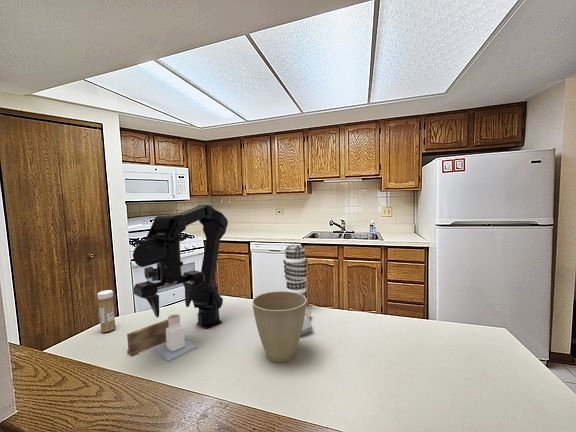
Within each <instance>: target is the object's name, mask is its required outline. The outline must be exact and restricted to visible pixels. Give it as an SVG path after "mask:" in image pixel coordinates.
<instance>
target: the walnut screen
mask: <svg viewBox="0 0 576 432" xmlns="http://www.w3.org/2000/svg"><path fill="white" fill-rule="evenodd" d="M167 327H169V324H168V318H167V319H165V320H162V321H158V322H155V323H153V324H151V325H148V326H145V327H141V328H140V329H137V330H134V331H131V332H128V333H127V334H126V338H127V350H126V353H127V354H128V355H129V356H131V357H134V356H137V355H139V352H142V351H144V350H148V349H150V348H152V347H155V346H157V345H159V344H161V343H163V342H166V328H167Z"/></svg>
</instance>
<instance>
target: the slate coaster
mask: <svg viewBox="0 0 576 432" xmlns="http://www.w3.org/2000/svg"><path fill="white" fill-rule="evenodd" d="M184 342H185V346H184V347H183V348H181V349H179V350H176V351H174V352H172V351H171V350H169V349H168V348H167V343H165V344H164V345H161V346H159V347H156V348H154V349H153V350H152V351H153V353H155V355H157V356H159V357H160V358H162V359H163V360H165V361H166V362H168V363H170V362H172V361H174V360H176V359H178V358H180V357H182V356H184V355H186V354H188V353H191V352H192V351H194V350H197V349H198V346H197V345H196V344H195V343H193V342H191V341H189V340H187V339H185V338H184Z"/></svg>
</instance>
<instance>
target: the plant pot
mask: <svg viewBox="0 0 576 432" xmlns="http://www.w3.org/2000/svg"><path fill="white" fill-rule="evenodd" d="M306 299H307V298H305V297H304V296H303V295H301V294H299V293H295V292H287V291H286V290H285V291H284V290H281V291H279V290H277V291H268V292H264V293H261V294H259V295H256V296H255V297H253V299H252V300H251V301H252V302H251V304H252V310H253V316H254V320H255V325H256V328H257V333H258V336H259V338H260V341H261V345H262V347H263V350H264V353H265V354H266V357H267V359H268V360H269V361H271V362H275V363H285V362H289V361H290V360H292V359H293V358H294V357H295V354H296V352H297V349H298V345H299V343H300V339H301V336H302V335H301V332H302V328H303V323H304V317H305V310H306V302H307V303H308V299H307V300H306Z"/></svg>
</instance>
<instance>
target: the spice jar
mask: <svg viewBox="0 0 576 432" xmlns="http://www.w3.org/2000/svg"><path fill="white" fill-rule="evenodd" d="M97 300H98V310H99V311H98V313H99V314H98V315H99V322H100V332H101V333H108V332H112V331H113V330H115V329H116V327H117V326H116V320H115V319H116V318H115V317H116V315H115V307H114V291H113V290H111V289H107V290H101V291H99V292H97Z"/></svg>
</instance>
